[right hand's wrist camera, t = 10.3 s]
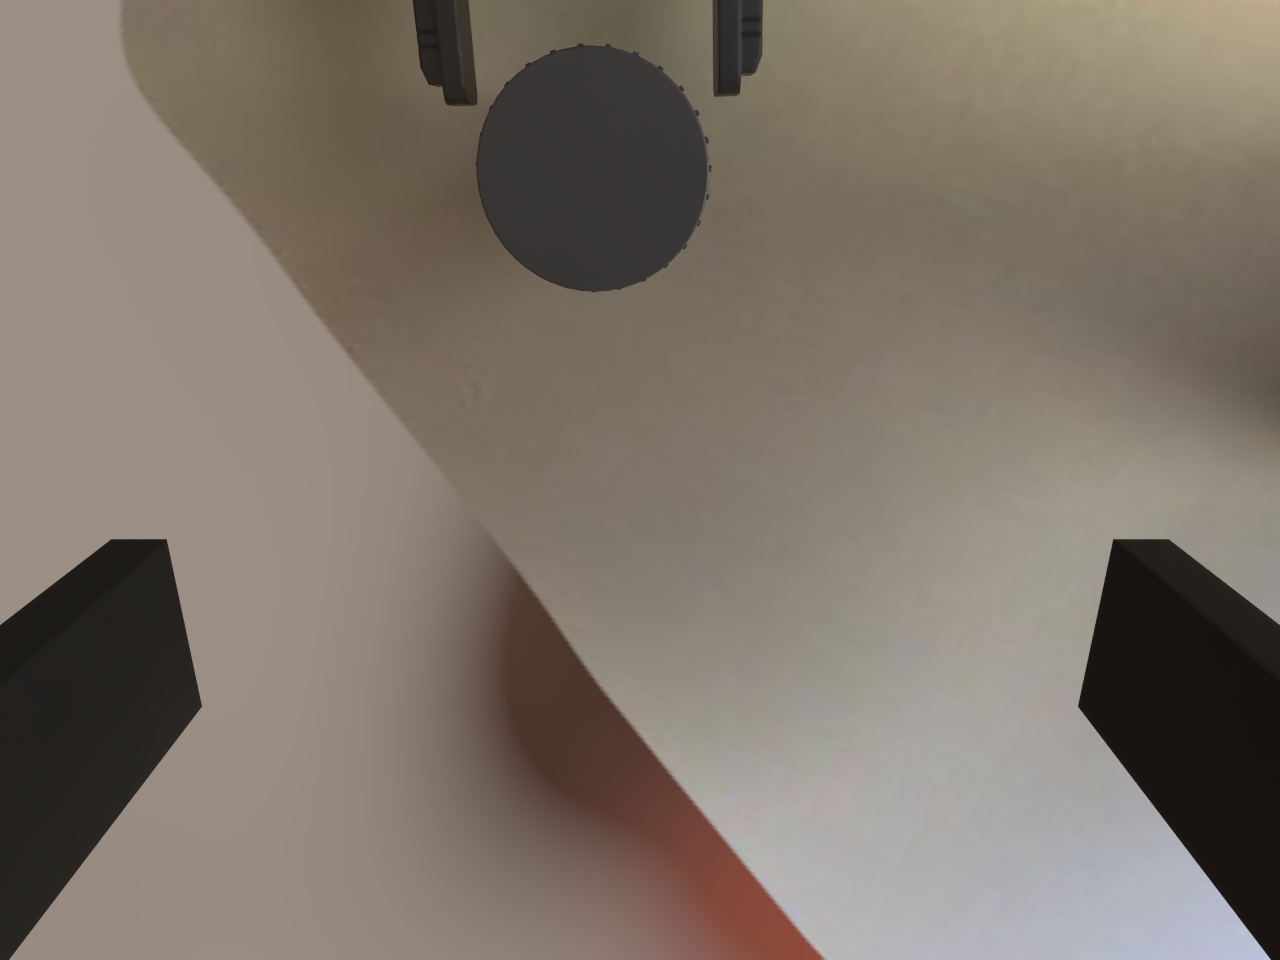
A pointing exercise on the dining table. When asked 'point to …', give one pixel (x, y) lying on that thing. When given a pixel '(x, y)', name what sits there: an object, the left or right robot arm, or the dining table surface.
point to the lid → (593, 168)
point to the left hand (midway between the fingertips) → (594, 100)
